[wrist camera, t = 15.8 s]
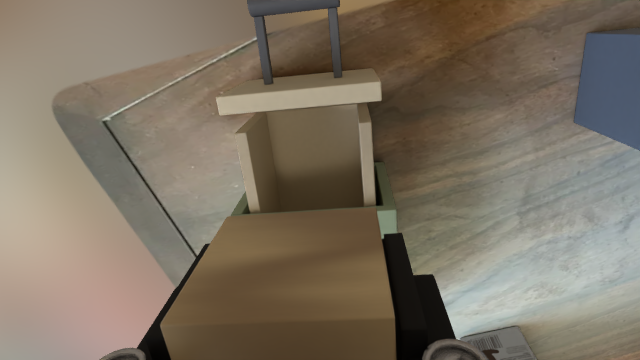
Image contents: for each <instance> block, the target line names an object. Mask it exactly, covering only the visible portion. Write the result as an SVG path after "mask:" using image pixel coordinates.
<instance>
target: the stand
mask: <svg viewBox="0 0 640 360" xmlns="http://www.w3.org/2000/svg"><path fill="white" fill-rule="evenodd" d="M574 123H576V124H579V125H581V126H583V127H586V128H588V129H590V130H593V131H595V132H597V133H600V134H602V135H604V136H607V137H609V138H611V139H614V140H616V141H619V142H621V143H623V144H626V145H628V146H630V147H633V148H635V149H637V150H640V28H630V29H620V30H611V31H601V32H591V33H587V36H586V43H585V50H584V56H583V63H582V70H581V77H580V83H579V90H578V97H577V103H576V110H575V117H574Z"/></svg>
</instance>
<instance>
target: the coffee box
mask: <svg viewBox="0 0 640 360" xmlns="http://www.w3.org/2000/svg"><path fill="white" fill-rule="evenodd" d="M461 341H465V342H468V343H470V344H472V345H474V346H476V347H477V348H478V349H479V350H481V351H482V352H483V353H484V354H485V355H486V357H487V358H488V359H489V360H537V359H536V357H535V355H534V353H533V351H532V350H531V348H530V346H529V345H528V343H527V341H526V339H525V338H524V336H523V334H522V332H521V331H520V329H519V327H517V326H516V327H510V328H505V329H501V330H496V331H491V332H487V333H482V334H477V335H473V336H468V337H463V338H461Z"/></svg>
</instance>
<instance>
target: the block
mask: <svg viewBox="0 0 640 360" xmlns="http://www.w3.org/2000/svg"><path fill="white" fill-rule="evenodd" d="M160 327H161V330H162V333H163V336H164V339H165V342H166V345H167V349H168V352H169V355H170V358H171V360H396V334H395V315H394V309H393V303H392V297H391V291H390V285H389V279H388V273H387V267H386V261H385V255H384V249H383V243H382V238H381V232H380V226H379V220H378V214H377V209H376V208H375V207H374V208H358V209H342V210H326V211H310V212H294V213H278V214H261V215H245V216H229V217H227V218H226V219H225V221H224V223H223V224H222V226H221V227H220V229H219V231H218V232H217V234H216V235H215V237H214V239H213V240H212V242H211V243H210V245H209V247H208V248H207V250H206V251H205V253H204V255H203V256H202V258H201V259H200V261H199V263H198V264H197V266H196V268H195V269H194V271H193V272H192V274H191V276H190V277H189V279H188V280H187V282H186V284H185V285H184V287H183V288H182V290H181V292H180V293H179V295H178V296H177V298H176V300H175V301H174V303H173V304H172V306H171V308H170V309H169V311H168V312H167V314H166V316H165V317H164V319H163V321H162V322H161V325H160Z"/></svg>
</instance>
